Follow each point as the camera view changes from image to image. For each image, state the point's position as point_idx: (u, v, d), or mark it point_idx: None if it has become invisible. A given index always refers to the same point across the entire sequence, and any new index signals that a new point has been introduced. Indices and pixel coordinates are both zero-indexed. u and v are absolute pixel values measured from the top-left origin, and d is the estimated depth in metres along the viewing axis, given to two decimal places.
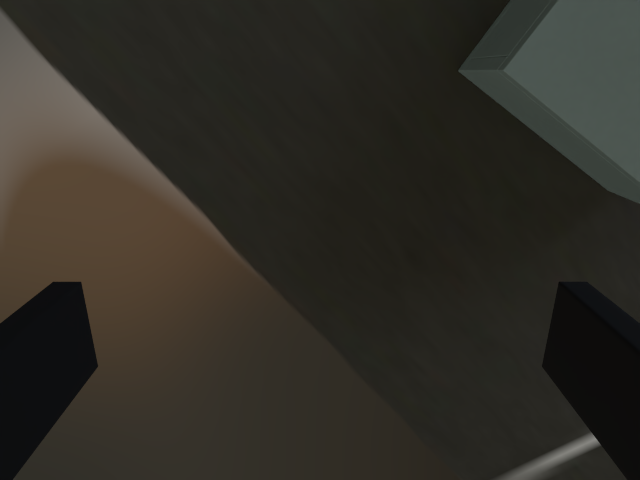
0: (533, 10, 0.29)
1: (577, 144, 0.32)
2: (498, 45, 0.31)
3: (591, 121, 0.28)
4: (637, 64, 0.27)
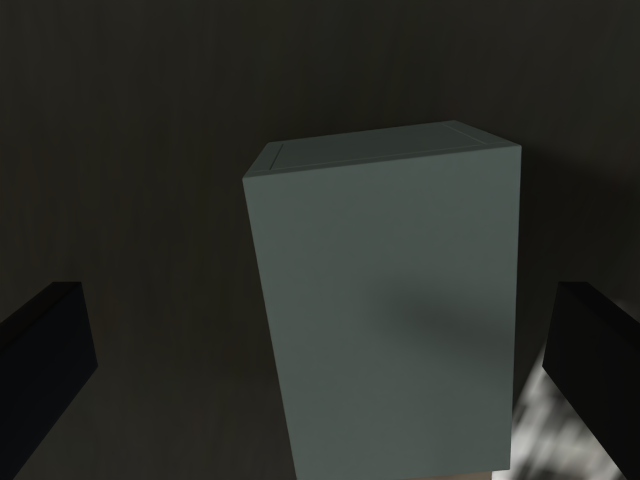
0: (343, 153, 0.21)
1: None
2: (294, 153, 0.23)
3: (286, 314, 0.21)
4: (371, 302, 0.21)
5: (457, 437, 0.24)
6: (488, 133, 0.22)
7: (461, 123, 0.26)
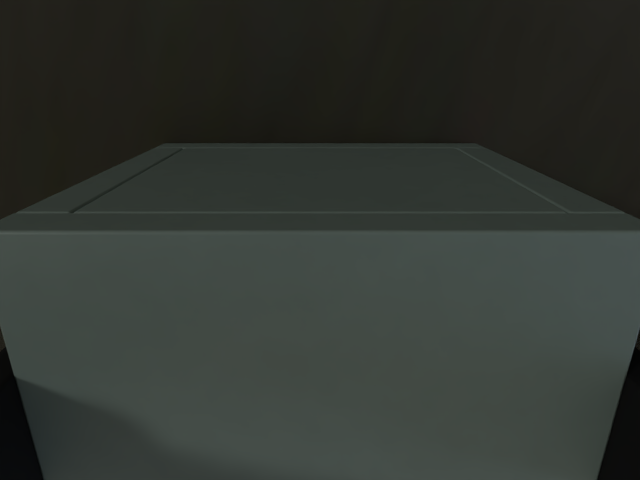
0: (258, 189, 0.10)
1: None
2: (172, 174, 0.12)
3: None
4: None
5: None
6: (555, 181, 0.11)
7: (490, 151, 0.15)
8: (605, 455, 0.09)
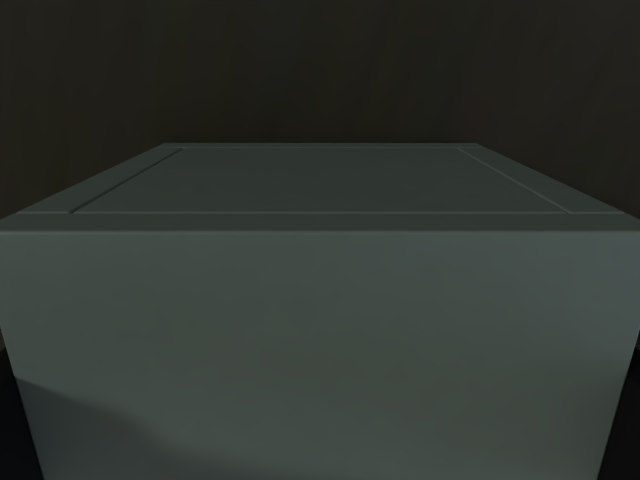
0: (258, 189, 0.10)
1: None
2: (172, 174, 0.12)
3: None
4: None
5: None
6: (556, 181, 0.11)
7: (490, 151, 0.15)
8: (605, 455, 0.09)
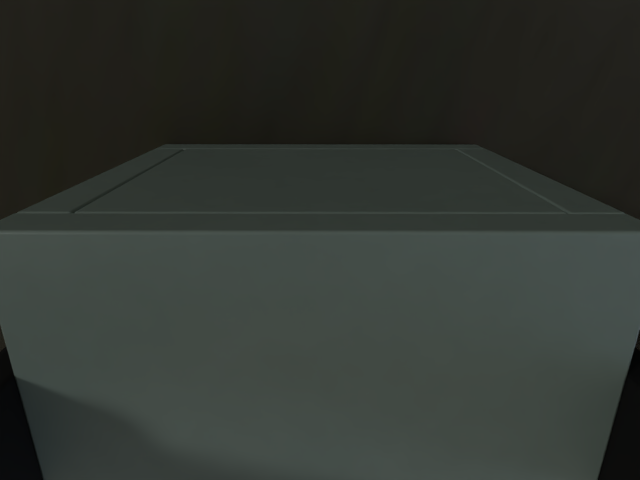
0: (258, 189, 0.10)
1: None
2: (172, 175, 0.12)
3: None
4: None
5: None
6: (555, 182, 0.11)
7: (490, 152, 0.15)
8: (606, 455, 0.09)
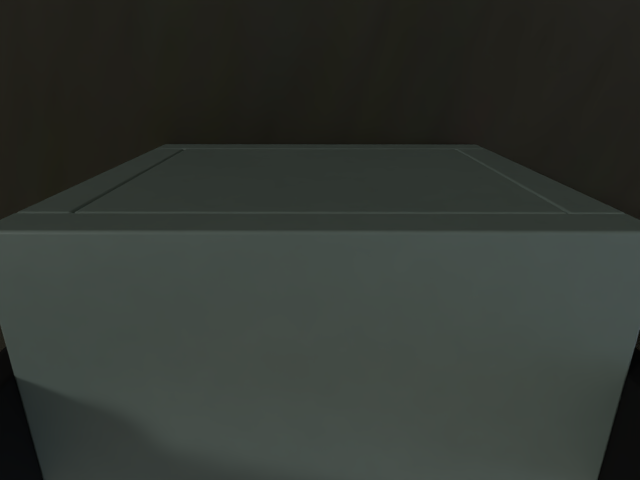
0: (258, 190, 0.10)
1: None
2: (172, 174, 0.12)
3: None
4: None
5: None
6: (556, 182, 0.11)
7: (490, 152, 0.15)
8: (605, 455, 0.09)
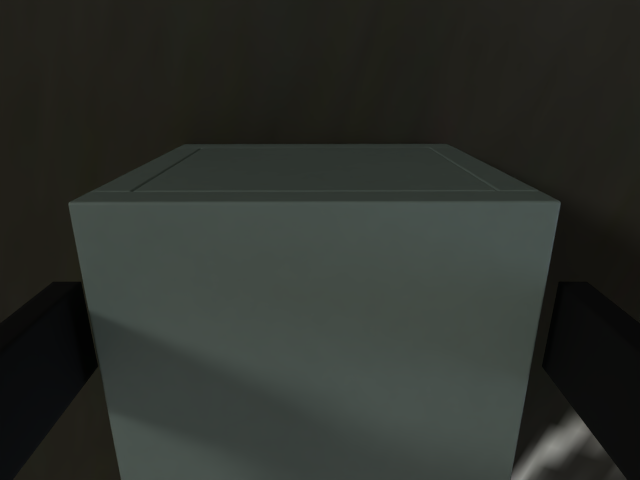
0: (267, 176, 0.13)
1: None
2: (198, 166, 0.15)
3: (144, 431, 0.13)
4: (285, 425, 0.13)
5: None
6: (499, 171, 0.14)
7: (456, 150, 0.18)
8: None
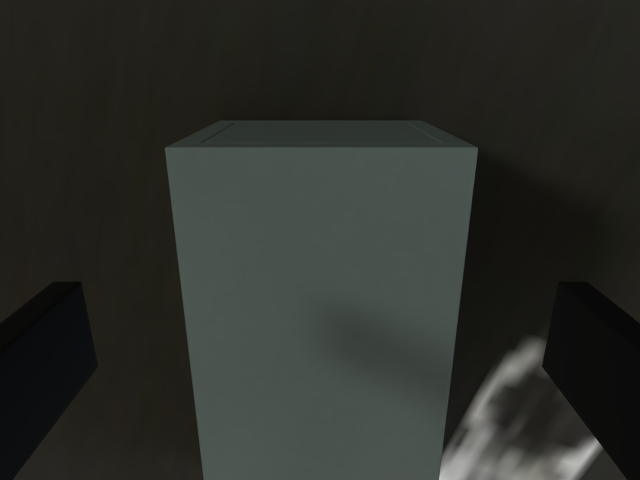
0: (288, 136, 0.19)
1: None
2: (238, 132, 0.21)
3: (205, 307, 0.19)
4: (300, 303, 0.19)
5: (383, 460, 0.22)
6: (449, 134, 0.20)
7: (426, 123, 0.24)
8: None
